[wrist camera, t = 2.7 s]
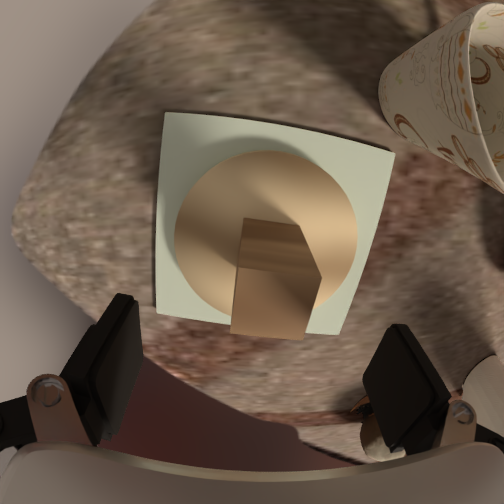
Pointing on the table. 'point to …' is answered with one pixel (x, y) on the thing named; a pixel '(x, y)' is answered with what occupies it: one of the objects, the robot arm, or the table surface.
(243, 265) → the lid
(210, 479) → the robot arm
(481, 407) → the paper towel roll
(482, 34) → the mug
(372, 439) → the skull
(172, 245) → the mat
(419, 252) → the table surface
